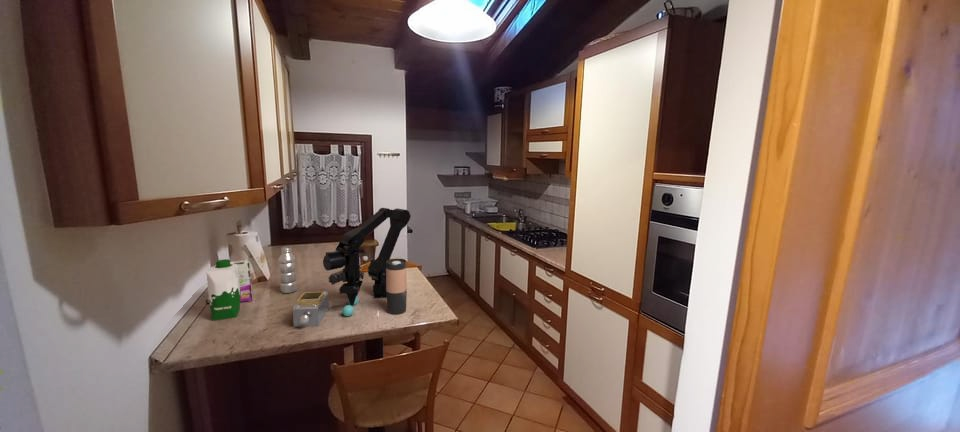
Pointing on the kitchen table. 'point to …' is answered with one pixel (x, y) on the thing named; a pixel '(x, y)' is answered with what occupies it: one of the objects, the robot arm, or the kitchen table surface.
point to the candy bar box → (244, 279)
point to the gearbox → (310, 309)
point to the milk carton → (223, 290)
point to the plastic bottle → (287, 270)
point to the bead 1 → (348, 310)
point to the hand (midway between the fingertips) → (353, 302)
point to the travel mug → (396, 286)
